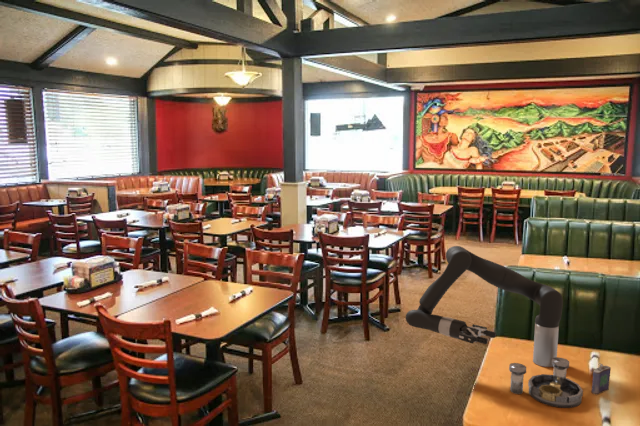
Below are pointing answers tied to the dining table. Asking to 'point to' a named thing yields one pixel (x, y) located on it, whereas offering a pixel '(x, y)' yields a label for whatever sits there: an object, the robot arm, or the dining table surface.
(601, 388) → the flask
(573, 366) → the dining table surface
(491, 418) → the dining table surface
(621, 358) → the dining table surface
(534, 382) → the carrier
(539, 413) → the dining table surface
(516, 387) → the silver capped cylinder
